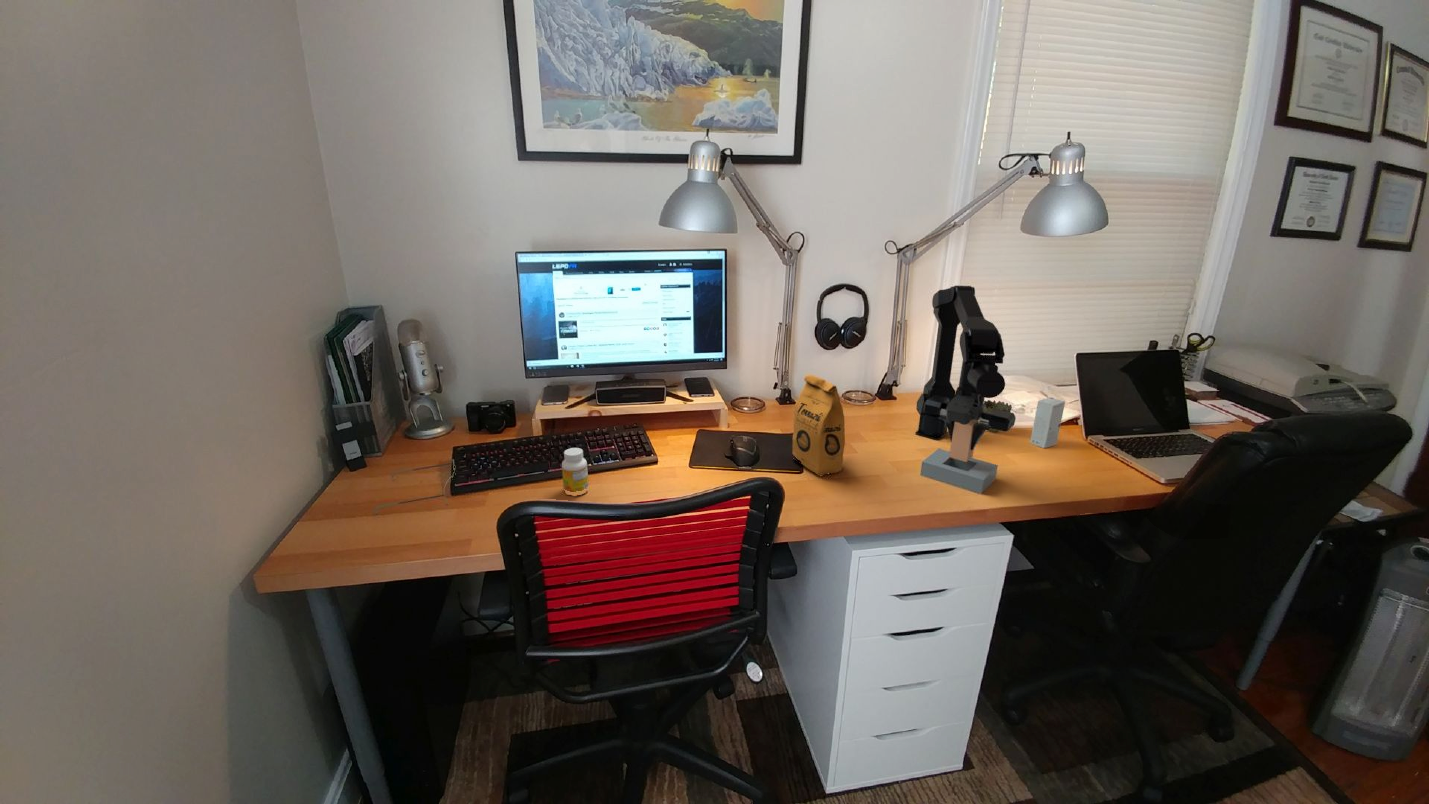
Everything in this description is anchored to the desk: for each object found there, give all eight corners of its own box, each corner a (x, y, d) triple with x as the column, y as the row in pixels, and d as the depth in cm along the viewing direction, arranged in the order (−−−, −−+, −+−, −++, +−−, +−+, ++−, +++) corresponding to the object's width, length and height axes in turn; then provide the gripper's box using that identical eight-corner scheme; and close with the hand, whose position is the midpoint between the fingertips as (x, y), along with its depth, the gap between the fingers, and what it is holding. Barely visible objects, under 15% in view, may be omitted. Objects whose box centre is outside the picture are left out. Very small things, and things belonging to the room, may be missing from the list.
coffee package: (813, 480, 139) (820, 390, 131) (786, 458, 149) (791, 374, 142) (849, 472, 142) (857, 385, 135) (820, 452, 153) (826, 370, 146)
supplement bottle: (561, 488, 134) (557, 449, 130) (584, 483, 136) (581, 444, 133) (568, 499, 129) (564, 458, 126) (592, 493, 132) (589, 453, 128)
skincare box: (1045, 449, 156) (1054, 405, 152) (1028, 443, 160) (1037, 400, 156) (1057, 443, 160) (1067, 401, 155) (1041, 438, 163) (1050, 396, 159)
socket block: (920, 474, 142) (922, 461, 140) (936, 461, 149) (938, 448, 148) (981, 494, 133) (983, 480, 132) (995, 478, 140) (997, 465, 139)
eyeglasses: (453, 507, 127) (450, 486, 125) (375, 517, 123) (370, 495, 121) (461, 474, 141) (458, 455, 139) (391, 481, 137) (388, 462, 135)
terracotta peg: (949, 457, 139) (954, 421, 136) (955, 451, 142) (961, 416, 139) (966, 462, 137) (972, 425, 133) (972, 456, 139) (978, 420, 136)
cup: (984, 423, 173) (989, 397, 170) (1011, 431, 168) (1016, 404, 165) (973, 430, 168) (978, 403, 165) (1000, 438, 163) (1005, 410, 160)
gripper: (917, 382, 133) (909, 446, 138) (1006, 401, 122) (993, 470, 127) (937, 371, 141) (928, 432, 146) (1022, 388, 129) (1009, 454, 135)
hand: (962, 446), depth 138 cm, fingers closed on terracotta peg, 4 cm apart
